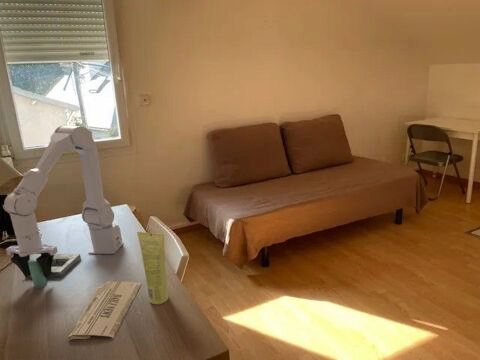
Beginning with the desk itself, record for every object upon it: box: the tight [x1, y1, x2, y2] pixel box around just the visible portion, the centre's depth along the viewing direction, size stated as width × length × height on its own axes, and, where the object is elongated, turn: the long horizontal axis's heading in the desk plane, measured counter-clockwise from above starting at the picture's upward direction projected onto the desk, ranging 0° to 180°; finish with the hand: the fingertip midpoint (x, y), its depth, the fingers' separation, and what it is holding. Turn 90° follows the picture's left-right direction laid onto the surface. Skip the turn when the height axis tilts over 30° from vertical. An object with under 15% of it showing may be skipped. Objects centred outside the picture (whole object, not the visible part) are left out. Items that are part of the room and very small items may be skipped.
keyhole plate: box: [27, 253, 82, 279], centre depth 115 cm, size 12×11×2 cm
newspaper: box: [68, 281, 142, 340], centre depth 93 cm, size 23×12×2 cm, turn 178°
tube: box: [137, 231, 169, 305], centre depth 93 cm, size 6×5×20 cm
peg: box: [28, 256, 48, 288], centre depth 105 cm, size 3×3×8 cm
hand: (38, 275), depth 106 cm, fingers open, 6 cm apart
